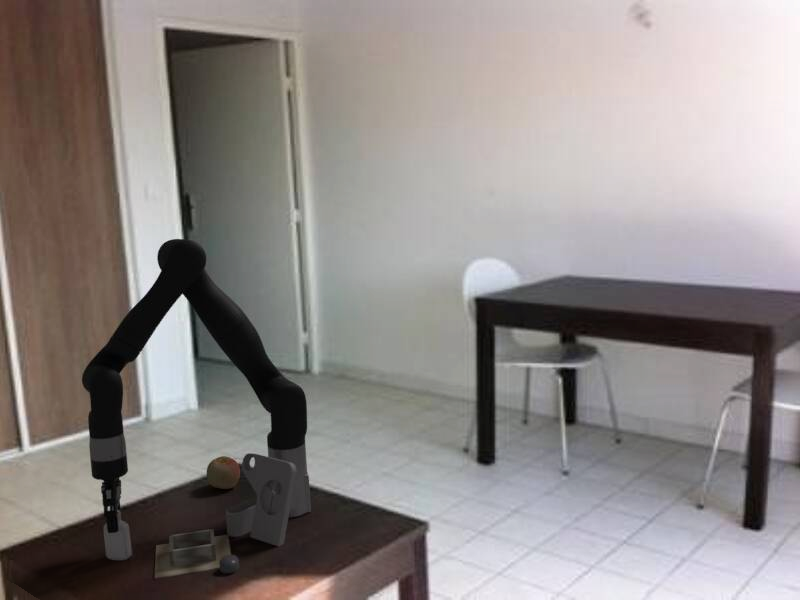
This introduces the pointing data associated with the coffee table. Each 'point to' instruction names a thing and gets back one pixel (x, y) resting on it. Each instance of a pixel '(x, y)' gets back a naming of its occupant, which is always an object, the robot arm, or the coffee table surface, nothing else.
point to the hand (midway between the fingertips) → (114, 524)
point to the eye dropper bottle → (118, 541)
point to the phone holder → (264, 501)
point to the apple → (223, 472)
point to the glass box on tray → (190, 553)
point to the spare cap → (229, 564)
